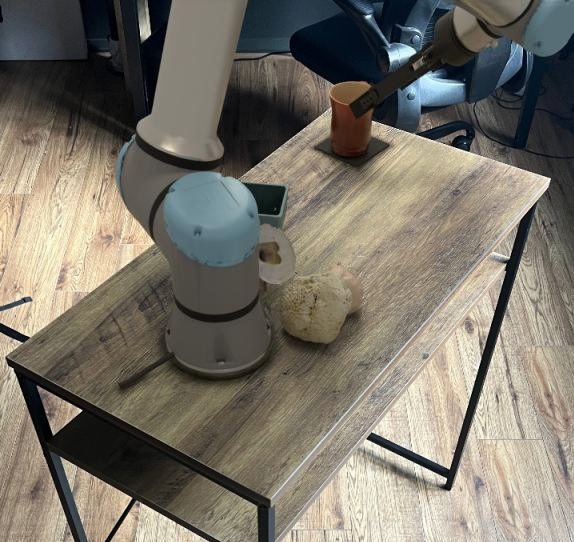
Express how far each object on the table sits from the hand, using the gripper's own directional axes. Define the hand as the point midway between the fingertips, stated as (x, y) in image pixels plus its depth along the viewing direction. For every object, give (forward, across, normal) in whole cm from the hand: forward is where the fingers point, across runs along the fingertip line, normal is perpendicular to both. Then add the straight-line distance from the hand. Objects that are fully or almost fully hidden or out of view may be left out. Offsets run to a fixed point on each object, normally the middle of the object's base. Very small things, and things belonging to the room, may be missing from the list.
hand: (376, 97), depth 143 cm
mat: (+10, 0, -4) cm, 11 cm away
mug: (+10, 0, -4) cm, 11 cm away
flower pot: (+6, -36, -10) cm, 37 cm away
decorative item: (-11, -46, -25) cm, 54 cm away
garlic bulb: (-11, -42, -21) cm, 48 cm away
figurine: (-11, -44, -11) cm, 47 cm away
